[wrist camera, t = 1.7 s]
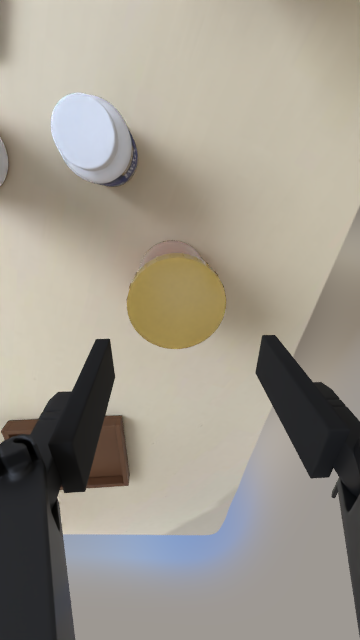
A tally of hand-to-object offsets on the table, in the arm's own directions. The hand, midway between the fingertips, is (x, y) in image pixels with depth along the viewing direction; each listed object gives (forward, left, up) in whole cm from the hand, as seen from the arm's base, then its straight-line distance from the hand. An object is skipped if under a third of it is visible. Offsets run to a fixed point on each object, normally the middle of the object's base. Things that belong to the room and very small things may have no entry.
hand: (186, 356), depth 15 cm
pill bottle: (-6, +12, -18) cm, 22 cm away
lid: (0, 0, -8) cm, 8 cm away
